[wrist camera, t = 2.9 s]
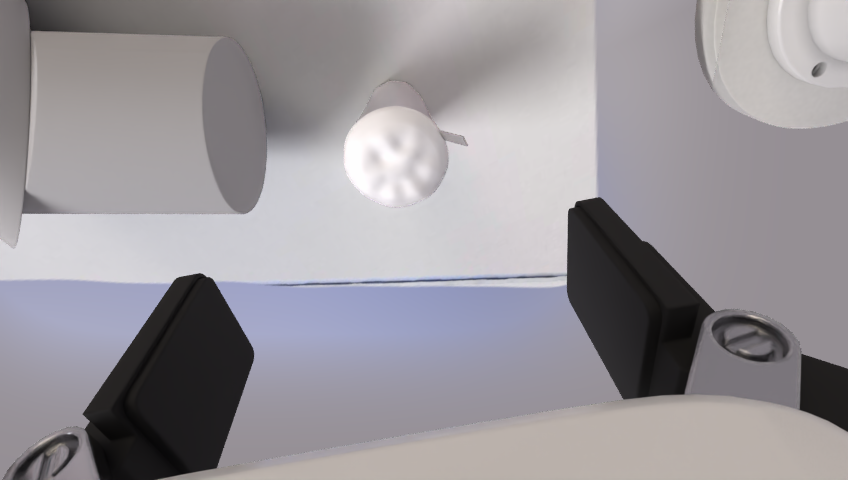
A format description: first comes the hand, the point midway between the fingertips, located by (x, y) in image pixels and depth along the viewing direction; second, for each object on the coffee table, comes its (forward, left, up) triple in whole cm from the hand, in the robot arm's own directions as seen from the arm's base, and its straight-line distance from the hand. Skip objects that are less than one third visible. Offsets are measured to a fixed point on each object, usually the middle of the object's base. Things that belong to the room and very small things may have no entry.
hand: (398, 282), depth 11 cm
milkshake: (0, 0, -17) cm, 17 cm away
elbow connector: (+17, -7, -17) cm, 25 cm away
